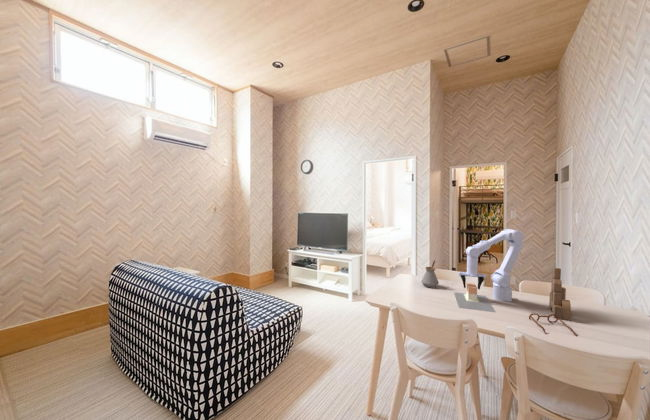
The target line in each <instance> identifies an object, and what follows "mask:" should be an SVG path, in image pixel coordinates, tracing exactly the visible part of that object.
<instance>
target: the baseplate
mask: <svg viewBox="0 0 650 420" xmlns="http://www.w3.org/2000/svg"><path fill="white" fill-rule="evenodd" d="M453 293H454V296H455V297H454V298H455V299H456V303H457V306H458V308H459V309H463V310H464V309H466V310H473V311H483V312H490V313H496V310H495V308H494V307H493V305H492V303H491V302H490V300H489V299H488V297H487V295H483V294H482V295H481V294H477V301H474V300H468V298H467V295H466V293H463V292H453Z"/></svg>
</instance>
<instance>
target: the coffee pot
mask: <svg viewBox="0 0 650 420" xmlns="http://www.w3.org/2000/svg"><path fill="white" fill-rule="evenodd" d="M435 264H436V260H435V259H434V260H433V261H432V265H431V266H426V267H425V272H424V274H423V276H422V279H421V283H422V285H423V286H424V287H425V288H429V287H434V288H436V287H437V286H439V284H440V282H439V279H438V277H437V275H436V273H435V271H436V268H435V267H434V266H435Z"/></svg>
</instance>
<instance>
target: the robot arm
mask: <svg viewBox="0 0 650 420" xmlns="http://www.w3.org/2000/svg"><path fill="white" fill-rule="evenodd" d="M524 238H525V236H524V234H523V232H522V231H520V230H516V229H512V228H505V229H504V230H500V232H499V233H497V234H496V235H494V236H492V237H491V238H489V239H487V240H479V242H478V243H476V244H472V246H467V248H466V249H465V250H464V251H465V254H466V271H458V277H460V278H461V280H462V283H463V284H462V285H463V288H464V289H466V287H467V284H466V283H467V282H466V281H467V280H466V279H467V278H466V277H468V278H469V277H470V278H477V290H480V289H481V286H482V284H483V283H484V281H485V279H486V278H487V274H486V273H479V272H478V269H479V268H478V265H479V264H478V262H479V261H478V259H479V258H478V257H480V255H481V254H482V253H484V252H486V251H487V250H488V251H489V250H490V249H491V246H492V245H493V246H494V245H496V244H497V243H499V242H502V241H504V240H505V241H508V243H509V245H510V246H509V248H508V250H507V252H506V254H505V257H504V258H503V261H502V262H501V265H500V267H499V268H498V269H495V270H494V272H493V273H492V274H491V275H490V280H491V282H492V299H494V300H496V301H501V302H512V301H513V299H512V298H513V290H512V287H511V286H510V285H511V279H512V277H511V274H510V273H511V271H512V269H513V267H514V265H515V263H516V261H517V258H518V257H519V255H520V253H521V250H522V249H523V247H524V244H523V243H524Z"/></svg>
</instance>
